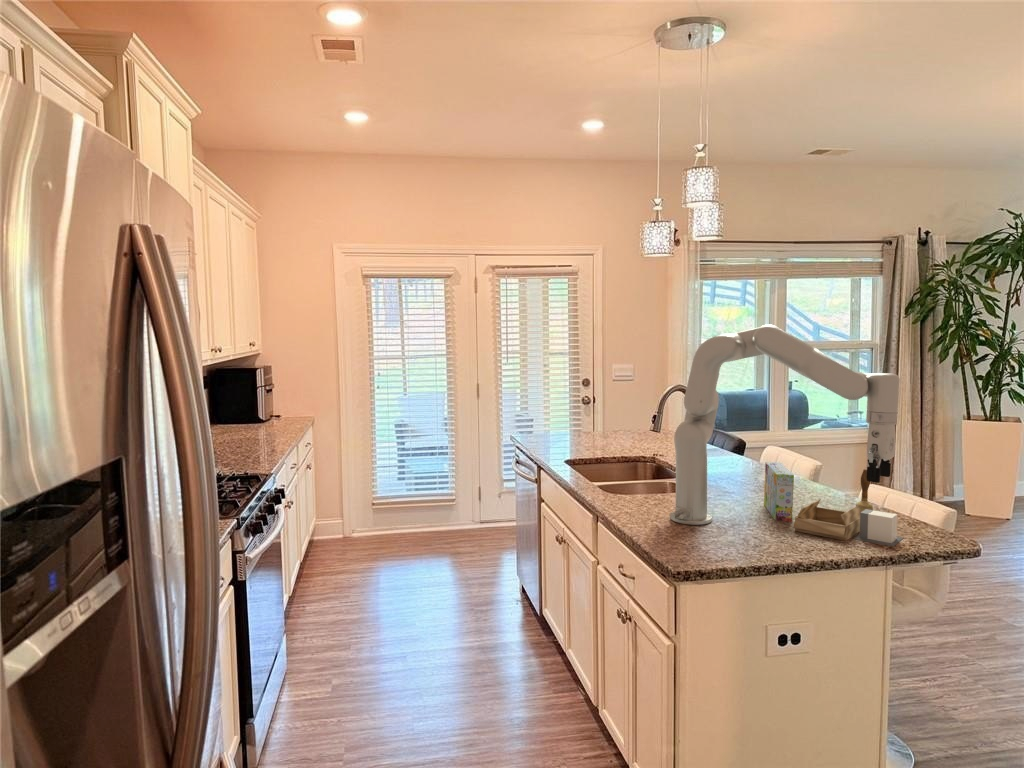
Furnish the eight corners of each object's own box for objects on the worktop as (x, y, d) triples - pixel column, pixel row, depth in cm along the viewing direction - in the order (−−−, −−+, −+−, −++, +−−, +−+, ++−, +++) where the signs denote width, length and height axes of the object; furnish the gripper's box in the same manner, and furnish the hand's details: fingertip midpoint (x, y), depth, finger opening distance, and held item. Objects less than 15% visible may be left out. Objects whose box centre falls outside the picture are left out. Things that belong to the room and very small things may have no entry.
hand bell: (849, 515, 210) (851, 466, 209) (879, 519, 206) (881, 468, 204) (847, 522, 203) (849, 471, 202) (878, 526, 198) (880, 473, 197)
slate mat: (893, 548, 178) (893, 546, 178) (853, 540, 185) (853, 538, 185) (903, 539, 185) (903, 537, 185) (864, 532, 192) (864, 530, 192)
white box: (891, 543, 180) (892, 517, 180) (859, 537, 186) (860, 512, 185) (896, 538, 184) (897, 514, 184) (865, 533, 190) (865, 509, 189)
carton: (843, 543, 182) (844, 517, 182) (792, 533, 192) (792, 509, 191) (866, 528, 196) (866, 504, 196) (817, 519, 206) (817, 496, 205)
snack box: (794, 523, 203) (795, 474, 202) (774, 522, 204) (775, 474, 203) (780, 505, 224) (781, 461, 222) (762, 505, 225) (763, 461, 224)
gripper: (887, 422, 174) (884, 486, 175) (905, 416, 186) (902, 476, 188) (856, 419, 179) (853, 481, 180) (876, 413, 191) (873, 472, 193)
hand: (878, 479), depth 184 cm, fingers open, 9 cm apart
